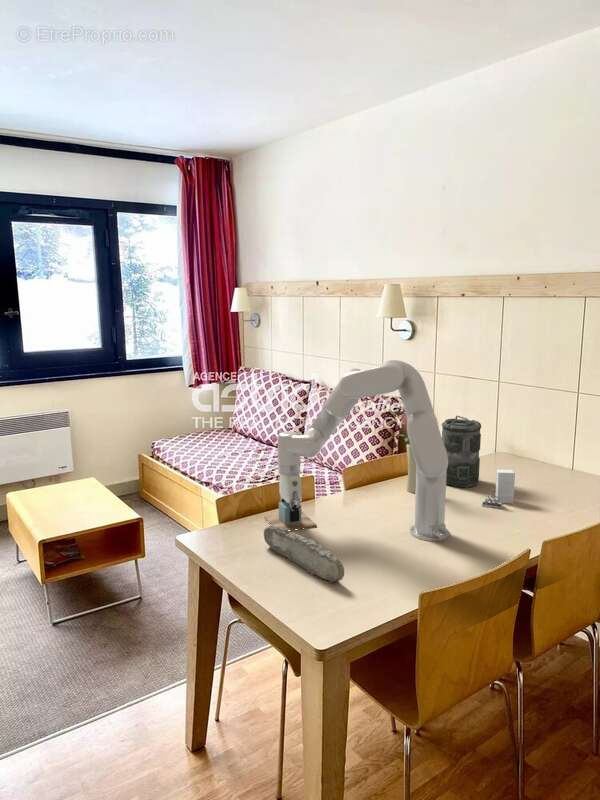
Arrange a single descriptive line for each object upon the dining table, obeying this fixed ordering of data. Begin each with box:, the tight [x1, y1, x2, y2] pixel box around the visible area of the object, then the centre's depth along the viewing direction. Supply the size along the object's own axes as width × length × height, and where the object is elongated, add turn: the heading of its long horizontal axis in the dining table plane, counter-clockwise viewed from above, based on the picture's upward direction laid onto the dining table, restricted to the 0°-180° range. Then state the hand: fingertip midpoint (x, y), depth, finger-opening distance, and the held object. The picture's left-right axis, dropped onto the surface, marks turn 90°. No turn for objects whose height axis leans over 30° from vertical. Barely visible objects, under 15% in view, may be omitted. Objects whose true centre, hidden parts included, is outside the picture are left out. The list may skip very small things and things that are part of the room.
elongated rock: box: [263, 525, 345, 584], centre depth 169 cm, size 35×5×10 cm, turn 41°
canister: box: [441, 414, 482, 489], centre depth 241 cm, size 16×16×28 cm
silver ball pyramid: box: [481, 487, 504, 510], centre depth 216 cm, size 9×9×8 cm
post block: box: [263, 510, 318, 531], centre depth 200 cm, size 14×14×6 cm
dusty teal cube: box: [278, 500, 302, 525], centre depth 200 cm, size 6×6×6 cm
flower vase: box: [390, 406, 416, 494], centre depth 228 cm, size 12×12×35 cm
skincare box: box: [495, 469, 516, 504], centre depth 220 cm, size 6×4×12 cm
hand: (289, 516), depth 200 cm, fingers open, 8 cm apart
